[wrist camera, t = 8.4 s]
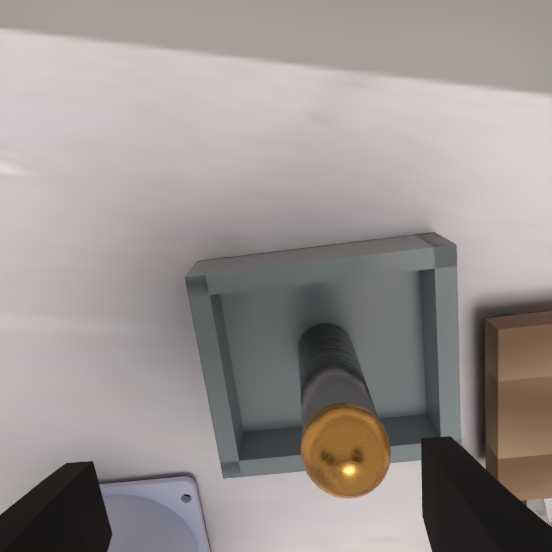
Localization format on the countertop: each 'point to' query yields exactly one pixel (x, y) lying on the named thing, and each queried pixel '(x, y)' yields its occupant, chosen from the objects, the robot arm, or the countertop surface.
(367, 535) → the countertop surface
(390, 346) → the tray
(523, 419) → the brown frame
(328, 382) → the stop pin
